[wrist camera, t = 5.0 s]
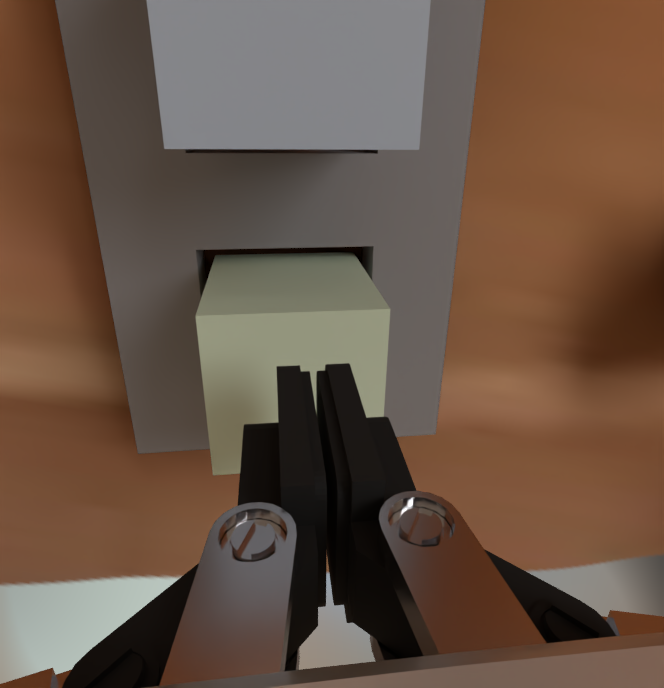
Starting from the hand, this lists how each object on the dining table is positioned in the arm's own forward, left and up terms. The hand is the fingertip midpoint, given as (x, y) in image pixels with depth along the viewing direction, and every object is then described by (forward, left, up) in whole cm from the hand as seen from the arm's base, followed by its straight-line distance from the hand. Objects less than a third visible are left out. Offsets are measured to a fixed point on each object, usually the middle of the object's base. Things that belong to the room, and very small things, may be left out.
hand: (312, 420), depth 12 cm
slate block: (-8, 0, -7) cm, 11 cm away
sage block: (+1, 0, -8) cm, 8 cm away
